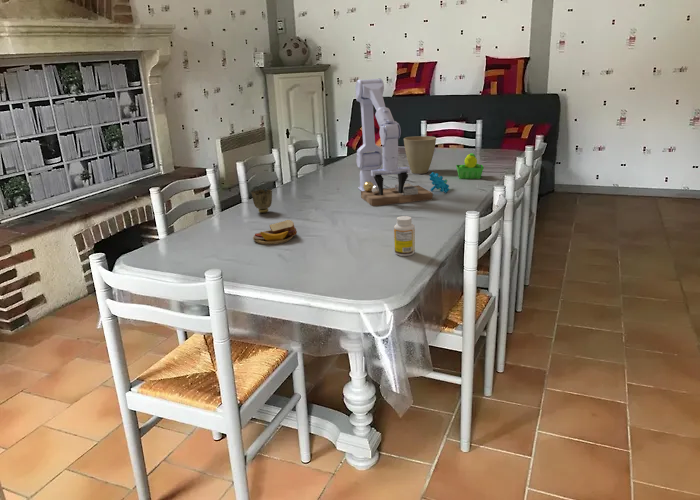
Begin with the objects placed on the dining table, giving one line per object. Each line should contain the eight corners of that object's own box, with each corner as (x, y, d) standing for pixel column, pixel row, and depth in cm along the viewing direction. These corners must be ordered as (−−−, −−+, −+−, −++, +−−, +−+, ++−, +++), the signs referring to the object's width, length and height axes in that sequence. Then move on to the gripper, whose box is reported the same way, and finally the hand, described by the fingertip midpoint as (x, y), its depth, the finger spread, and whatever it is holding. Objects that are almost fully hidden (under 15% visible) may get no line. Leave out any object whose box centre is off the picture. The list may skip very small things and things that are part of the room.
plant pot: (437, 174, 255) (438, 139, 250) (405, 176, 255) (404, 140, 250) (433, 168, 269) (434, 135, 264) (402, 169, 270) (402, 136, 264)
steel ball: (370, 193, 214) (370, 184, 213) (379, 192, 215) (379, 183, 214) (373, 195, 211) (373, 186, 210) (382, 194, 212) (382, 185, 211)
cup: (277, 210, 206) (275, 188, 203) (268, 215, 199) (266, 193, 197) (259, 209, 208) (257, 188, 206) (249, 214, 202) (247, 192, 199)
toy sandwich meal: (253, 235, 178) (252, 220, 177) (296, 231, 180) (295, 217, 178) (252, 247, 167) (251, 232, 165) (298, 243, 168) (297, 228, 167)
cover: (395, 190, 218) (395, 183, 217) (408, 188, 219) (408, 181, 218) (403, 195, 209) (403, 188, 208) (417, 194, 210) (417, 186, 209)
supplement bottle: (402, 248, 159) (401, 214, 156) (418, 252, 156) (418, 216, 152) (390, 254, 155) (389, 218, 152) (407, 258, 152) (406, 221, 148)
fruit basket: (481, 175, 250) (482, 150, 246) (484, 179, 242) (485, 153, 238) (455, 176, 251) (456, 150, 248) (457, 180, 243) (457, 154, 239)
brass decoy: (362, 191, 219) (361, 181, 218) (372, 190, 220) (371, 180, 219) (365, 193, 215) (364, 183, 214) (375, 192, 216) (374, 182, 215)
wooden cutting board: (361, 197, 220) (360, 191, 219) (418, 191, 225) (418, 185, 224) (371, 205, 206) (371, 199, 206) (432, 199, 212) (432, 193, 211)
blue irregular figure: (441, 191, 217) (427, 171, 220) (431, 200, 220) (417, 181, 223) (455, 189, 225) (442, 170, 228) (445, 198, 229) (432, 179, 231)
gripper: (374, 160, 199) (375, 197, 204) (412, 157, 203) (413, 193, 207) (368, 157, 206) (370, 193, 210) (406, 154, 209) (406, 190, 214)
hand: (390, 193), depth 209 cm, fingers open, 7 cm apart
